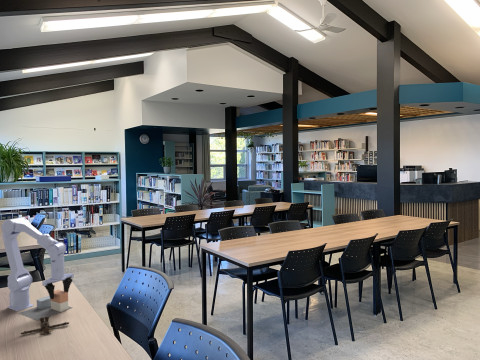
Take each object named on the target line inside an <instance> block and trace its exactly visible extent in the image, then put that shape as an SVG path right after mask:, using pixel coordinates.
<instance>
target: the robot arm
mask: <svg viewBox="0 0 480 360" xmlns="http://www.w3.org/2000/svg"><path fill="white" fill-rule="evenodd" d="M0 227H1V231H2V236H1V237H2V240H3V241H2V242H3V244H4V249H5V253H6V256H7V260H8V261H7V262H8V264H9V269H10V273H9V274H8V276H7V288H8V290H9V292H8V293H9V294H8V302H9V305H8V306H7V308H8V309H10V310H12V311H14V312H19V311H23V310H25V309H28V308H32V307H34V304H32V303H31V299H30V287H31V285H32V284H33V277H32V275H31V274H30V271H29V269H27V268H25V267H24V263H23V259H22V255H21V251H20V247H19V244H18V240H17V237H18V236H19V234H20V233H22V232H23V233H25V234H27V235H28V236H29V237H32V238H34V239H35V240H36V243H37V244H38V245H39V246H40V247H42V248H43V249H45V250H46V251H47V254H48V256H49V259H50V271H51V272H50V273H51V275H50V276H51V278H48V279H45V280H42V281H41V284H42V286H44V288H45V289H46V291H47V294H48V296H50V299H54V291H55V286H56V285H54V284H56V283H58V282H62V284H63V291H64V292H68V293H69V290H70V286H71V284H72V282H73V278H74V273H72V272H70V273H65V253H66V251H67V246H66V244H65V243H64V242H63V241H58V240H56V239H54V238H53V237H52V236H51V235H50V234H49V233H42V232H40V231H39V230H38V229H37V228H36V227H35V226H33V225H32V224H31V223H30V220H28V219H27V218H26V217H25V216H20V217H15V218H10V219H5V220H4V221H3V222H2V224H1V225H0Z"/></svg>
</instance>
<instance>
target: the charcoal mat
mask: <svg viewBox="0 0 480 360" xmlns="http://www.w3.org/2000/svg"><path fill="white" fill-rule="evenodd" d="M71 309H73V307H71V306H69V305H68V309H67V310H64V311H62V312H59V311H56V310H54V309H51V306H50V307H47V308H45V309H42V310H41V309H38V308H37V306H36V307H33V308H32V307H31V308H30V309H27V310H24V311H23V310H22V311H21V312H18V313H17V314H19V315H21V316H24V317H26V318H29V319H32V320H33V321H37V322H40V318H43V317H44V319H45V317H46V316H47V317H49V318H50V317H51V316H52V317H53V316H55V315H58V314H60V313H63V312H66V311H68V310H71Z"/></svg>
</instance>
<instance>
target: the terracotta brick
mask: <svg viewBox="0 0 480 360" xmlns="http://www.w3.org/2000/svg"><path fill="white" fill-rule="evenodd" d="M51 301H54V302H57V303H63V302H66V301H68V302H69V291H68V292H64V290H59V289H57V290H54V299H51Z"/></svg>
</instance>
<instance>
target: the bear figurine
mask: <svg viewBox="0 0 480 360" xmlns="http://www.w3.org/2000/svg"><path fill="white" fill-rule="evenodd" d="M49 320H50V317H47V316H46V317H45V318H44V317H43V318H40V320H39V323H40V326H41V327H39V328H38V327H37V328H34V329H31V330H24V331H23V332H20V335H27V334H32V333H35V332H37V333H38V332H39V334H40V335H43V334H44V335H48V334H49V333H51V332H53V331H54V330H53V329H54V328H58V327H64V326H67V325H70V322H68V321H65V322H62V323H58V324H53V325H52V324H51V325H50V323H49Z"/></svg>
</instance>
